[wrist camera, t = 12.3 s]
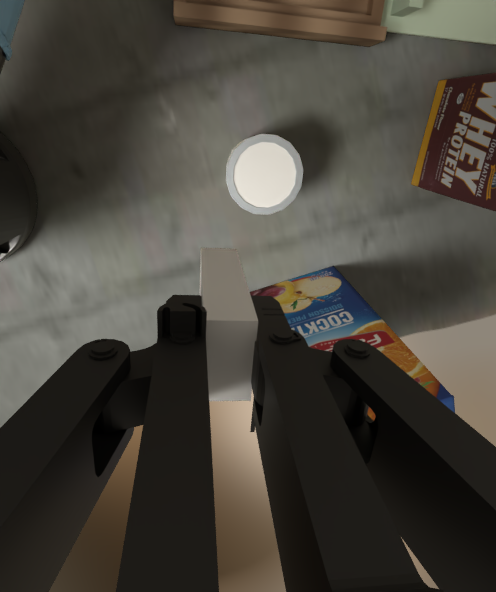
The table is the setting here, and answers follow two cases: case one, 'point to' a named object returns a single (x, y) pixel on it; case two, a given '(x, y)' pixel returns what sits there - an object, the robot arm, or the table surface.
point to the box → (289, 18)
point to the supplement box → (461, 142)
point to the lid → (443, 19)
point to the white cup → (264, 174)
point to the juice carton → (345, 322)
